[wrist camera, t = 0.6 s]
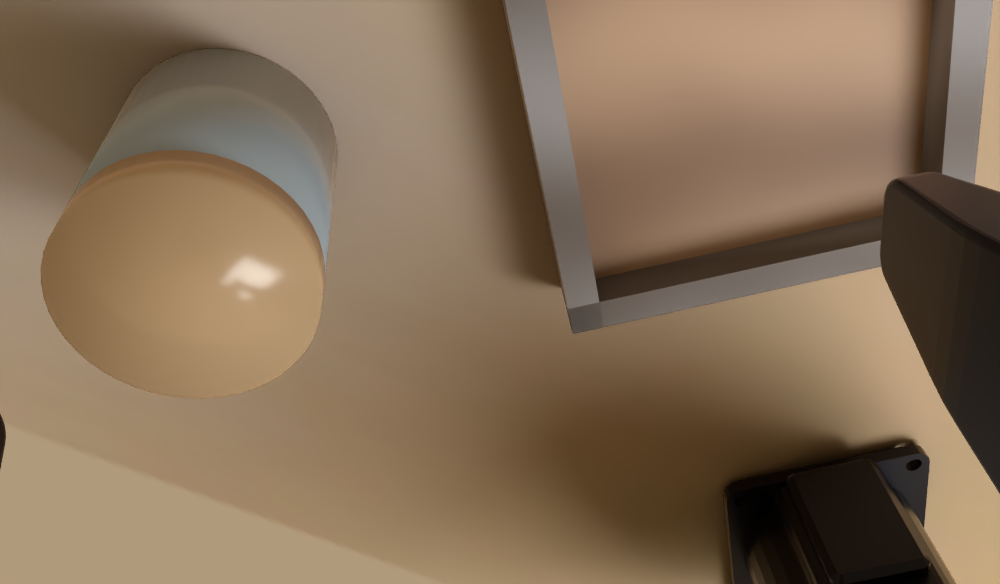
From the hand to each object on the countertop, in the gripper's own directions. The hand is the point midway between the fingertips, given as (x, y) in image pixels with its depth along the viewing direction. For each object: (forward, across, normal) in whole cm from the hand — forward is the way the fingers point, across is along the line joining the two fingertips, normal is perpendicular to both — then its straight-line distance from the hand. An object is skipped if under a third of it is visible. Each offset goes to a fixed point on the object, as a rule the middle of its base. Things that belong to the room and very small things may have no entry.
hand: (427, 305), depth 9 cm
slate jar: (+13, +5, +4) cm, 15 cm away
